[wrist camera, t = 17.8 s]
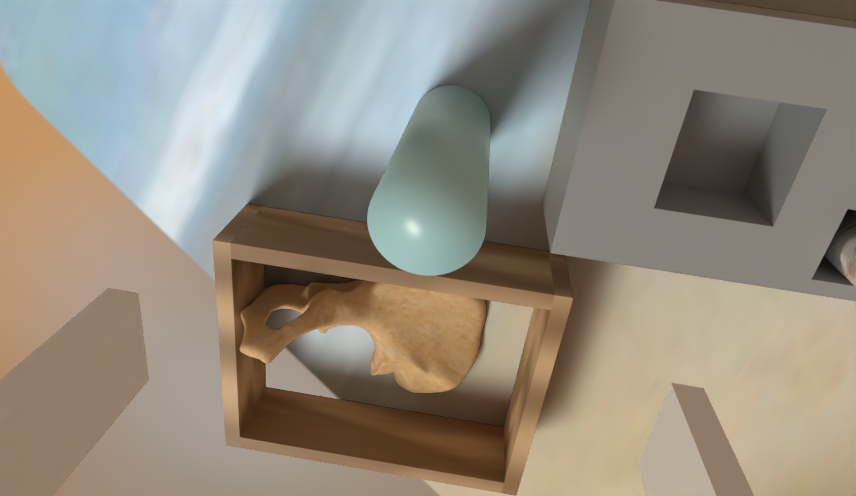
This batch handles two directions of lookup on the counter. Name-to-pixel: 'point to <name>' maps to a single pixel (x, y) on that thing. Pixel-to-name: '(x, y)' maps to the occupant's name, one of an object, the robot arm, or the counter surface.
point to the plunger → (844, 247)
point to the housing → (708, 143)
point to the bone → (377, 327)
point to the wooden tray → (368, 424)
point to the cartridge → (435, 186)
